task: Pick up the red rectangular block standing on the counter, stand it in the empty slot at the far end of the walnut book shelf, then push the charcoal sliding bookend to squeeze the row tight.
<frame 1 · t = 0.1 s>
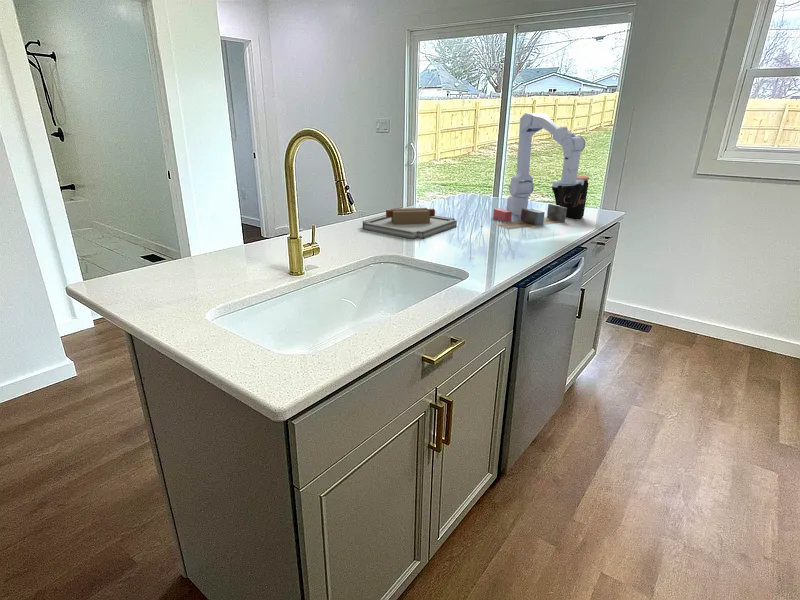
hand: (565, 204, 186), 10 cm above the worktop, fingers open, 7 cm apart
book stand: (409, 228, 193), on the worktop
slate book: (533, 222, 196), point 1 cm above the worktop, touching book shelf
coffee jar: (570, 217, 210), on the worktop
red rectangular block: (501, 221, 203), on the worktop
sliding bookend: (529, 216, 194), point 4 cm above the worktop, slide at 0.0 cm
book shelf: (529, 225, 196), on the worktop
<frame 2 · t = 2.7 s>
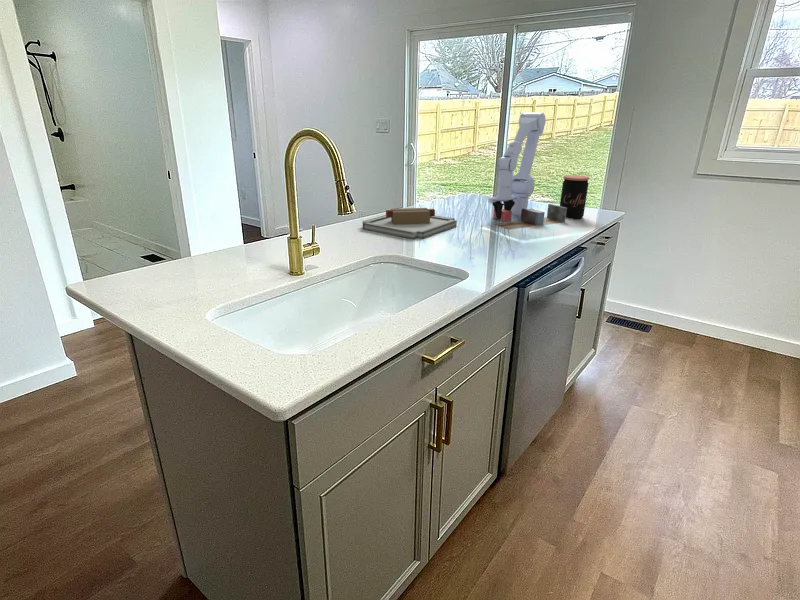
hand: (502, 218, 202), 1 cm above the worktop, fingers closed on red rectangular block, 3 cm apart
red rectangular block: (501, 221, 203), on the worktop, touching gripper
everything else where it was.
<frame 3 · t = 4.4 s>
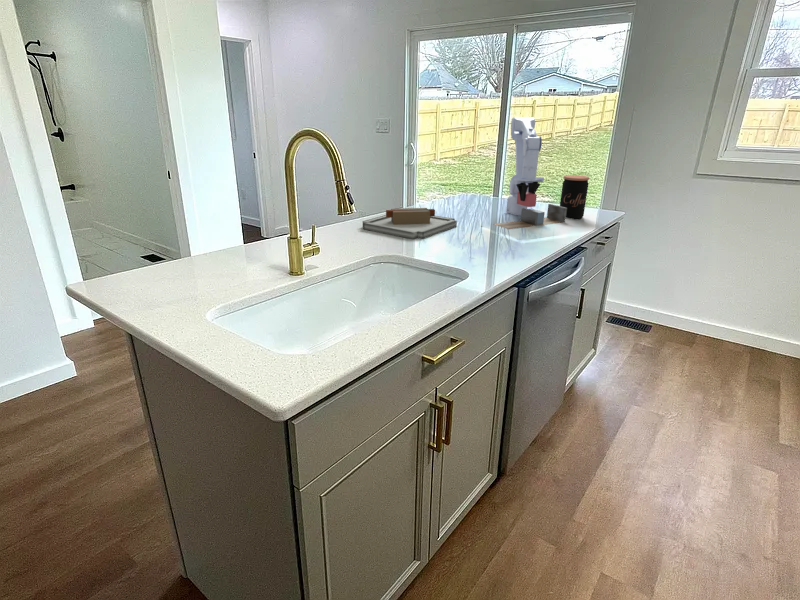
hand: (526, 200, 197), 9 cm above the worktop, fingers closed on red rectangular block, 3 cm apart
red rectangular block: (525, 205, 198), point 7 cm above the worktop, touching gripper
everything else where it was.
when the fingers open (4 cm above the worktop, at t = 6.4 s): red rectangular block stays where it is, resting on book shelf.
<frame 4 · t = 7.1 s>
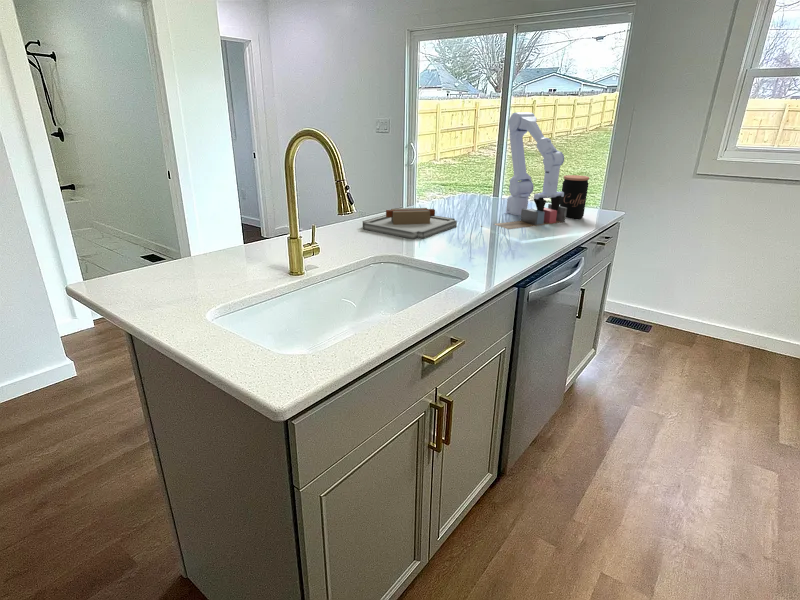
hand: (546, 214, 198), 4 cm above the worktop, fingers open, 7 cm apart
red rectangular block: (545, 220, 199), point 1 cm above the worktop, touching book shelf
everything else where it was.
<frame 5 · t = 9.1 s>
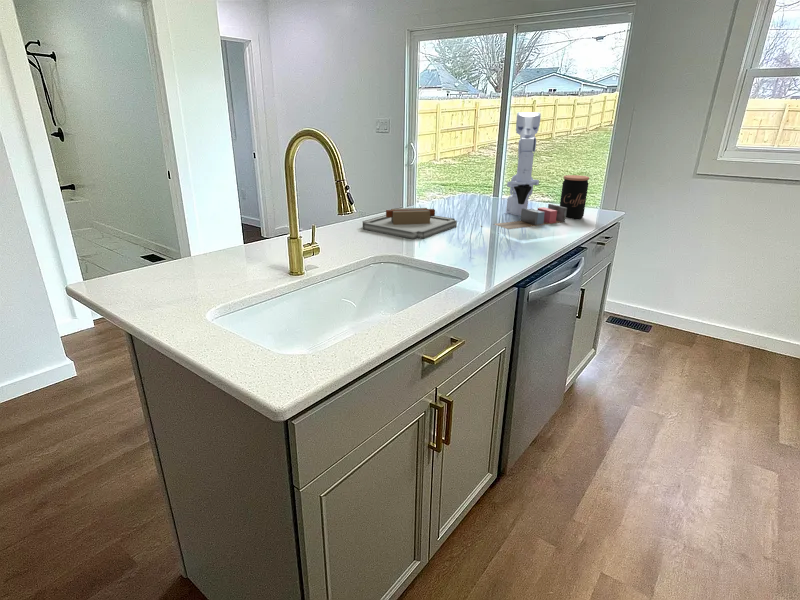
hand: (521, 203, 190), 9 cm above the worktop, fingers closed
nothing on the worktop moved.
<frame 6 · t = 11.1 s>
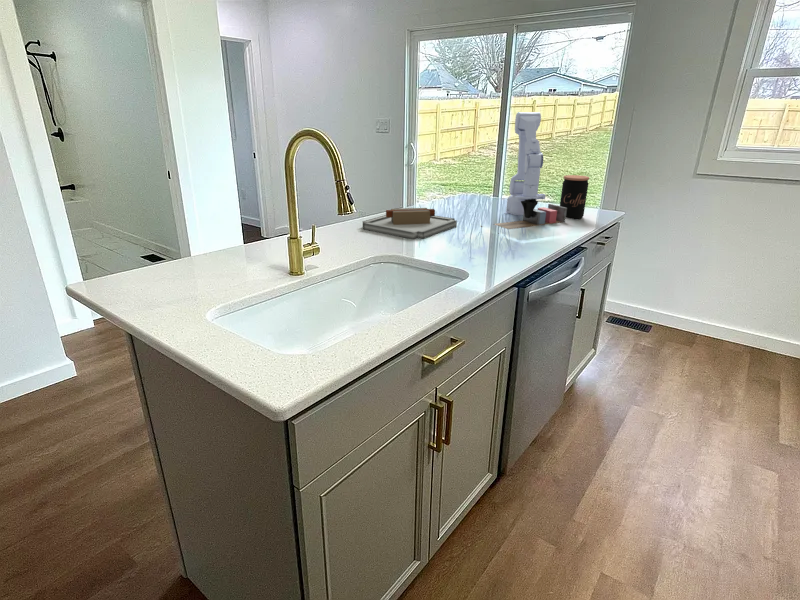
hand: (527, 217, 194), 3 cm above the worktop, fingers closed
slate book: (534, 222, 197), point 1 cm above the worktop, touching sliding bookend
sliding bookend: (531, 216, 195), point 4 cm above the worktop, slide at 1.3 cm, touching gripper, slate book
everything else where it was.
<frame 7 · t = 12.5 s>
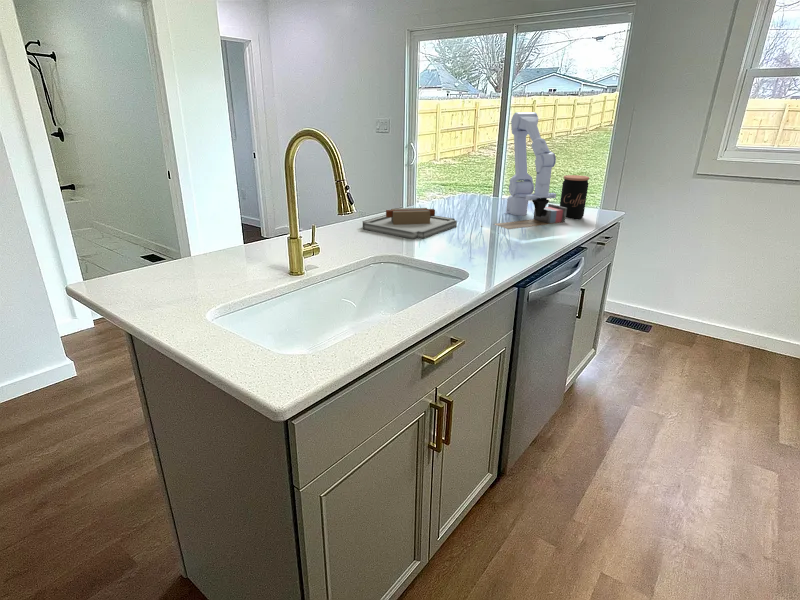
hand: (538, 216, 196), 3 cm above the worktop, fingers closed
slate book: (545, 221, 199), point 1 cm above the worktop, touching book shelf, red rectangular block, sliding bookend
red rectangular block: (551, 220, 200), point 1 cm above the worktop, touching book shelf, slate book
sliding bookend: (542, 215, 197), point 4 cm above the worktop, slide at 7.1 cm, touching gripper, slate book
everything else where it was.
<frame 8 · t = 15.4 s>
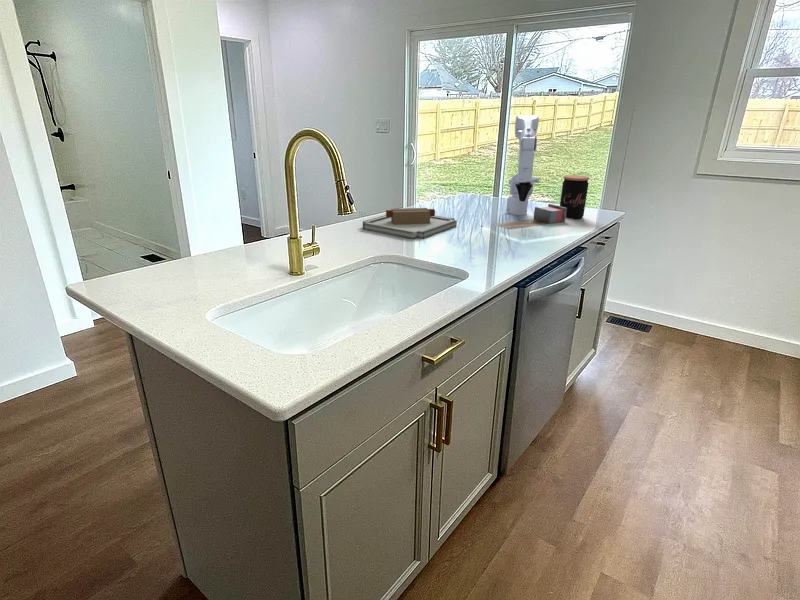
hand: (522, 201, 196), 9 cm above the worktop, fingers closed
sliding bookend: (542, 215, 197), point 4 cm above the worktop, slide at 7.1 cm, touching slate book
everything else where it was.
at the end: red rectangular block 1.3 cm from the target spot, point 1.0 cm above the worktop; red rectangular block tilted 0°; sliding bookend slide at 7.1 cm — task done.
